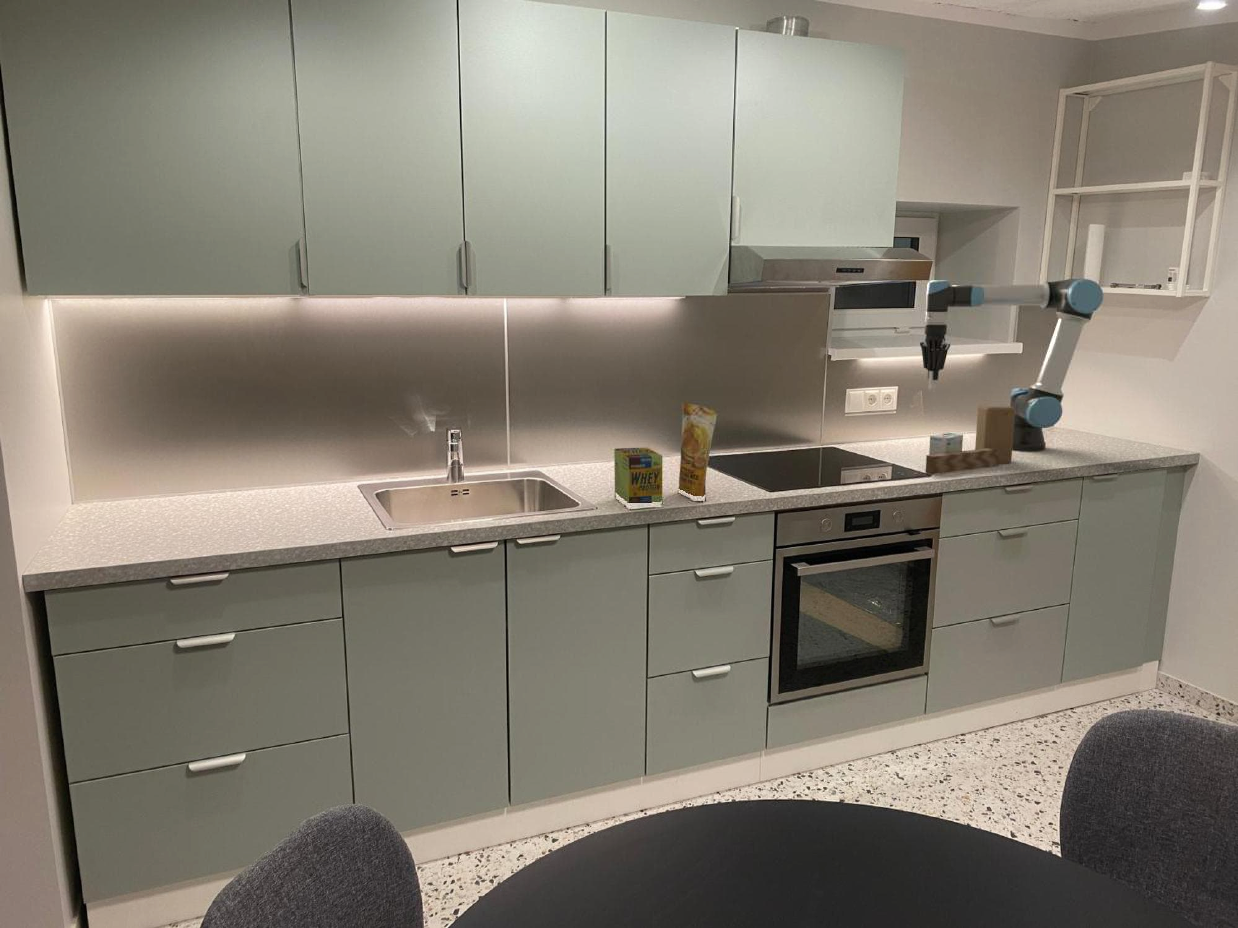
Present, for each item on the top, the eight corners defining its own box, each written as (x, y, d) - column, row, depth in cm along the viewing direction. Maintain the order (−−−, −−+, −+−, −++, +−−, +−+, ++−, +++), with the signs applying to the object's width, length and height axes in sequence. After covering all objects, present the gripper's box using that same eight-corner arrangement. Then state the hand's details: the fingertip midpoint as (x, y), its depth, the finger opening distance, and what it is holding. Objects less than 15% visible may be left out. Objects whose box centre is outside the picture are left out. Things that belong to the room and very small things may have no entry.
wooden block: (1012, 464, 325) (1016, 407, 321) (983, 464, 325) (987, 407, 321) (1001, 458, 335) (1005, 403, 331) (973, 458, 335) (977, 403, 331)
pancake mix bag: (690, 489, 291) (691, 400, 286) (718, 502, 274) (720, 408, 268) (671, 491, 289) (671, 402, 283) (698, 504, 271) (699, 410, 266)
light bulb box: (945, 461, 330) (946, 432, 328) (962, 464, 325) (964, 434, 323) (927, 465, 323) (929, 435, 321) (944, 468, 318) (946, 437, 316)
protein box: (628, 510, 265) (628, 457, 262) (614, 498, 280) (613, 448, 277) (663, 507, 268) (663, 455, 265) (647, 496, 283) (647, 446, 280)
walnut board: (991, 464, 324) (992, 447, 323) (997, 466, 322) (999, 449, 320) (925, 472, 312) (926, 455, 311) (932, 474, 309) (933, 456, 308)
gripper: (915, 323, 339) (911, 387, 344) (941, 324, 327) (937, 391, 332) (930, 322, 342) (927, 386, 347) (957, 324, 331) (953, 390, 335)
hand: (932, 388), depth 339 cm, fingers closed
